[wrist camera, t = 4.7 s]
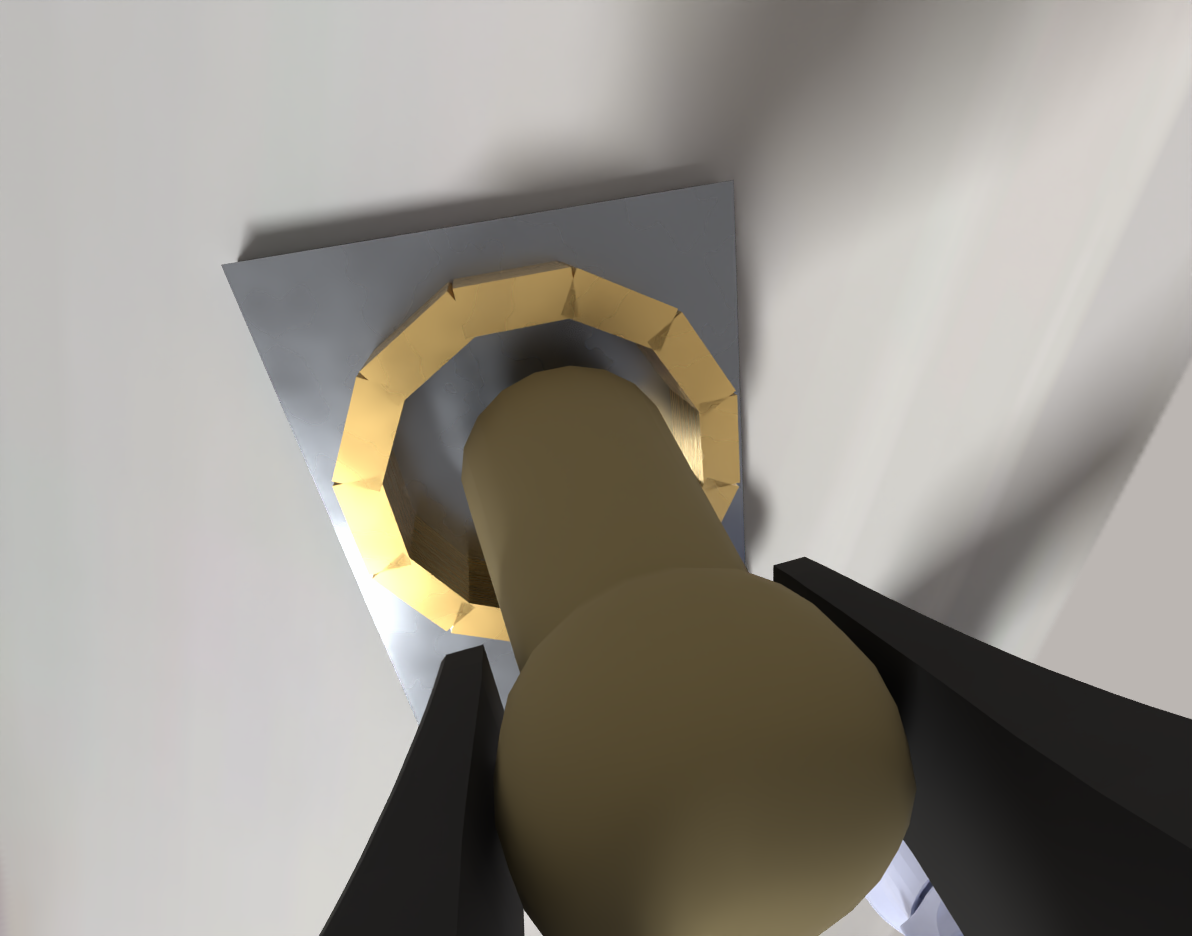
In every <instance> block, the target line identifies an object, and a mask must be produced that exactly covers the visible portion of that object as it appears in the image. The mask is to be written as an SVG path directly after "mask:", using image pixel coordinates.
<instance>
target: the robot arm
mask: <svg viewBox="0 0 1192 936" xmlns="http://www.w3.org/2000/svg"><path fill="white" fill-rule="evenodd" d="M773 581H774V582H776V583H779V584H782V585H783V586H785V587H786V588H788V589H790V590H791V591H793V592H795V593H796V594H798V595H800V596H801V597H803V598H805V599H806V600H808V601H809V602H811V603H813V604H814V605H815V606H816V607H817V608H818V609H819V610H820V611H821V612H822V613H824V614H825V615H826V616H827V617H828V618H829V619H830V620H831V621H832V622H833V623H834V624H835V625H836V626H837V627H838V628H839V629H841V630H842V631H843V632H844V633H845V634H846V635H847V636H848V638H849V639H850V640H851V641H852V642H853V643H854V644H855V645H856V646H857V647H858V648H859V649H860V650H861V651H862V652H863V653H864V654H865V655H866V656H867V658H868V659H869V660H870V661H871V662H872V663H873V664H874V665H875V667H876V668H877V670H878V672H879V674H880V676H881V678H882V679H883V681H884V683H885V685H886V687H887V689H888V690H889V692H890V694H891V696H892V698H893V700H894V702H895V703H896V705H897V707H898V711H899V714H900V717H901V721H902V724H903V727H904V730H905V734H906V737H907V740H908V744H909V750H910V755H911V761H912V766H913V771H914V777H915V782H916V788H917V789H916V794H915V799H914V804H913V809H912V814H911V819H910V824H909V827H908V829H907V831H906V834H905V836H904V838H903V841H902V843H901V845H900V848H899V850H898V851H897V853H896V855H895V856H894V858H893V860H892V862H891V863H890V865H889V867H888V868H887V870H886V872H885V873H884V875H883V877H882V878H881V880H880V881H879V883H878V884H877V885H876V886H875V887H874V888H873V889H872V890H871V891H870V892H869V893H868V894H867V895H866V896H865V897H866V899H867V900H868V902H869V903H870V904H871V906H872V907H873V908H874V909H875V911H876V912H877V913H878V914H879V915H880V916H881V917H882V918H883V919H884V920H885V921H886V922H887V923H888V924H890V925H891V926H892V927H893V928H895V929H896V930H897V931H899V932H900V933H902V934H903V935H904V936H1192V719H1189V718H1185V717H1182V716H1179V715H1176V714H1173V713H1170V712H1167V711H1163V710H1160V709H1157V708H1154V707H1151V706H1148V705H1145V704H1142V703H1139V702H1136V701H1133V700H1130V699H1127V698H1125V697H1122V696H1119V695H1116V694H1113V693H1110V692H1108V691H1105V690H1102V689H1099V688H1097V687H1094V686H1091V685H1089V684H1086V683H1083V682H1081V681H1078V680H1075V679H1073V678H1070V677H1067V676H1065V675H1062V674H1059V673H1056V672H1054V671H1051V670H1048V669H1046V668H1043V667H1040V666H1038V665H1036V664H1033V663H1031V662H1028V661H1026V660H1023V659H1021V658H1019V657H1016V656H1014V655H1012V654H1009V653H1007V652H1005V651H1002V650H1000V649H998V648H995V647H993V646H991V645H988V644H986V643H984V642H981V641H979V640H977V639H974V638H972V637H970V636H968V635H965V634H963V633H961V632H959V631H957V630H954V629H952V628H950V627H948V626H946V625H943V624H941V623H939V622H937V621H935V620H933V619H931V618H929V617H926V616H924V615H922V614H920V613H918V612H916V611H914V610H912V609H910V608H908V607H906V606H904V605H902V604H900V603H898V602H896V601H894V600H891V599H889V598H887V597H885V596H883V595H881V594H879V593H877V592H875V591H873V590H871V589H869V588H867V587H865V586H863V585H861V584H859V583H858V582H856V581H854V580H852V579H850V578H848V577H846V576H844V575H842V574H840V573H838V572H836V571H834V570H832V569H830V568H828V567H825V566H823V565H821V564H819V563H817V562H815V561H813V560H811V559H808V558H806V557H802V558H799V559H795V560H791V561H788V562H784V563H780V564H777V565H774V567H773ZM503 715H504V708H503V705H502V702H501V699H500V696H499V692H498V689H497V686H496V683H495V680H494V676H493V673H492V670H491V667H490V664H489V660H488V657H487V654H486V651H485V648H484V645H480V646H476V647H472V648H469V649H465V650H461V651H457V652H454V653H450V654H446V656H445V657H444V659H443V660H442V661H441V664H440V667H439V671H438V674H437V677H436V680H435V683H434V686H433V689H432V692H431V695H430V697H429V700H428V703H427V706H426V709H425V711H424V714H423V716H422V719H421V722H420V724H419V727H418V730H417V732H416V735H415V737H414V740H413V742H412V744H411V747H410V749H409V752H408V754H407V756H406V759H405V761H404V764H403V766H402V768H401V771H400V773H399V776H398V778H397V780H396V783H395V785H394V787H393V789H392V792H391V794H390V796H389V798H388V800H387V803H386V805H385V807H384V809H383V811H382V813H381V815H380V817H379V819H378V822H377V824H376V826H375V828H374V830H373V832H372V834H371V836H370V838H369V841H368V843H367V845H366V847H365V849H364V851H363V853H362V855H361V857H360V859H359V861H358V863H357V865H356V867H355V869H354V871H353V873H352V875H351V877H350V879H349V881H348V883H347V885H346V887H345V889H344V891H343V893H342V894H341V896H340V898H339V900H338V902H337V904H336V906H335V908H334V910H333V911H332V913H331V915H330V917H329V919H328V920H327V922H326V924H325V926H324V928H323V930H322V931H321V933H320V935H319V936H524V912H523V906H522V903H521V901H520V898H519V895H518V893H517V890H516V887H515V885H514V882H513V880H512V877H511V874H510V872H509V868H508V865H507V862H506V859H505V856H504V852H503V849H502V846H501V843H500V840H499V836H498V833H497V830H496V827H495V810H494V782H493V778H494V771H495V763H496V756H497V748H498V741H499V734H500V729H501V724H502V720H503Z"/></svg>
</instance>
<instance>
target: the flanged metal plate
mask: <svg viewBox="0 0 1192 936" xmlns="http://www.w3.org/2000/svg"><path fill="white" fill-rule="evenodd" d="M221 266H222V268H223V270H224V273H225V275H226V277H227V280H228V282H229V284H230V287H231V289H232V291H233V294H234V296H235V298H236V301H237V303H238V305H239V308H240V310H241V312H242V315H243V317H244V319H245V322H246V324H247V326H248V329H249V331H250V333H251V336H252V338H253V340H254V343H255V345H256V347H257V350H258V352H259V354H260V357H261V359H262V361H263V364H264V366H265V368H266V371H267V373H268V375H269V378H270V380H271V382H272V385H273V387H274V389H275V392H276V394H277V396H278V399H279V401H280V403H281V406H282V408H283V410H284V413H285V415H286V417H287V420H288V422H289V424H290V427H291V429H292V431H293V433H294V436H295V438H296V440H297V443H298V445H299V447H300V450H301V452H302V454H303V457H304V459H305V461H306V464H307V466H308V468H309V471H310V473H311V475H312V478H313V480H314V482H315V485H316V487H317V489H318V492H319V494H320V496H321V499H322V501H323V503H324V506H325V508H326V510H327V513H328V515H329V517H330V520H331V522H332V524H333V527H334V529H335V531H336V534H337V536H338V538H339V541H340V543H341V545H342V548H343V550H344V552H345V555H346V557H347V559H348V562H349V564H350V566H351V569H352V571H353V573H354V576H355V578H356V580H357V583H358V585H359V587H360V590H361V592H362V594H363V597H364V599H365V601H366V604H367V606H368V608H369V611H370V613H371V615H372V618H373V620H374V622H375V625H376V627H377V629H378V632H379V634H380V636H381V639H382V641H383V643H384V646H385V648H386V650H387V653H388V655H389V657H390V660H391V662H392V664H393V667H394V669H395V671H396V674H397V676H398V678H399V681H400V683H401V685H402V688H403V690H404V692H405V695H406V697H407V699H408V702H409V704H410V706H411V709H412V711H413V713H414V716H415V718H416V720H417V723H418V725H419V724H420V722H421V719H422V716H423V714H424V711H425V709H426V706H427V703H428V700H429V697H430V695H431V692H432V689H433V686H434V683H435V680H436V677H437V674H438V671H439V667H440V664H441V661H442V660H443V659H444V657H445V656H446V654H450V653H454V652H457V651H461V650H465V649H469V648H472V647H476V646H480V645H484V648H485V651H486V654H487V657H488V660H489V664H490V667H491V670H492V673H493V676H494V680H495V683H496V686H497V689H498V692H499V696H500V699H501V702H502V705H503V708H504V711H505V706H506V702H507V697H508V694H509V692H510V691H511V689H512V687H513V685H514V683H515V682H516V680H517V678H518V676H519V675H520V672H519V669H518V665H517V662H516V659H515V655H514V652H513V649H512V646H511V642H510V639H509V636H508V633H507V629H506V626H505V623H504V620H503V616H502V613H501V610H500V607H499V603H498V600H497V597H496V594H495V590H494V587H493V584H492V581H491V577H490V574H489V571H488V568H487V564H486V561H485V558H484V554H483V551H482V548H481V545H480V541H479V538H478V535H477V532H476V528H475V525H474V522H473V519H472V515H471V512H470V509H469V505H468V502H467V498H466V495H465V491H464V488H463V484H462V481H461V476H462V463H463V450H464V446H465V444H466V442H467V439H468V437H469V435H470V433H471V430H472V428H473V426H474V424H475V422H476V419H477V417H478V416H479V415H480V414H481V413H482V412H483V410H484V409H485V408H486V407H487V406H488V405H489V404H490V403H491V402H492V401H493V400H494V399H495V398H496V397H497V395H498V394H499V393H500V392H501V391H502V390H504V389H506V388H507V387H509V386H511V385H513V384H515V383H517V382H518V381H520V380H522V379H524V378H526V377H527V376H529V375H531V374H533V373H535V372H540V371H545V370H550V369H555V368H560V367H565V366H579V367H587V368H596V369H604V370H607V371H609V372H611V373H613V374H615V375H617V376H619V377H621V378H624V379H626V380H628V381H630V382H632V383H634V384H635V385H636V386H637V387H638V388H639V389H640V390H641V391H642V392H643V393H644V394H645V395H646V396H647V397H648V398H649V399H650V400H651V401H652V402H653V403H654V404H655V405H656V406H657V407H658V409H659V411H660V413H661V415H662V416H663V418H664V420H665V422H666V424H667V425H668V427H669V429H670V431H671V433H672V434H673V436H674V438H675V440H676V442H677V444H678V445H679V447H680V449H681V451H682V453H683V454H684V456H685V458H686V460H687V462H688V463H689V465H690V467H691V469H692V471H693V472H694V474H695V476H696V478H697V480H698V482H699V483H700V485H701V487H702V489H703V491H704V492H705V494H706V496H707V498H708V500H709V501H710V503H711V505H712V507H713V509H714V511H715V512H716V514H717V516H718V518H719V520H720V521H721V523H722V525H723V527H724V529H725V530H726V532H727V534H728V536H729V538H730V540H731V541H732V543H733V545H734V547H735V549H736V550H737V552H738V554H739V556H740V558H741V559H742V561H743V563H744V565H745V543H744V510H743V477H742V444H741V411H740V378H739V345H738V312H737V279H736V246H735V213H734V180H732V181H725V182H719V183H713V184H707V185H701V186H695V187H689V188H683V189H677V190H670V191H664V192H658V193H652V194H646V195H640V196H634V197H628V198H622V199H616V200H610V201H604V202H598V203H592V204H586V205H580V206H574V207H568V208H561V209H555V210H549V211H543V212H537V213H531V214H525V215H519V216H513V217H507V218H501V219H495V220H489V221H483V222H477V223H471V224H465V225H459V226H452V227H446V228H440V229H434V230H428V231H422V232H416V233H410V234H404V235H398V236H392V237H386V238H380V239H374V240H368V241H362V242H356V243H350V244H343V245H337V246H331V247H325V248H319V249H313V250H307V251H301V252H295V253H289V254H283V255H277V256H271V257H265V258H259V259H253V260H247V261H240V262H235V263H229V264H223V265H221Z"/></svg>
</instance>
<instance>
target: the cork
mask: <svg viewBox="0 0 1192 936" xmlns="http://www.w3.org/2000/svg"><path fill="white" fill-rule="evenodd" d="M461 481H462V484H463V488H464V491H465V495H466V498H467V502H468V505H469V509H470V512H471V515H472V519H473V522H474V525H475V528H476V532H477V535H478V538H479V541H480V545H481V548H482V551H483V554H484V558H485V561H486V564H487V568H488V571H489V574H490V577H491V581H492V584H493V587H494V590H495V594H496V597H497V600H498V603H499V607H500V610H501V613H502V616H503V620H504V623H505V626H506V629H507V633H508V636H509V639H510V642H511V646H512V649H513V652H514V655H515V659H516V662H517V665H518V669H519V672H520V675H519V676H518V678H517V680H516V682H515V683H514V685H513V687H512V689H511V691H510V692H509V694H508V697H507V702H506V706H505V711H504V715H503V720H502V724H501V729H500V734H499V741H498V748H497V756H496V763H495V771H494V778H493V782H494V810H495V827H496V830H497V833H498V836H499V840H500V843H501V846H502V849H503V852H504V856H505V859H506V862H507V865H508V868H509V872H510V874H511V877H512V880H513V882H514V885H515V887H516V890H517V893H518V895H519V898H520V901H521V903H522V906H523V908H524V911H525V912H526V913H527V915H528V916H529V917H530V919H531V920H532V921H533V923H534V924H535V925H536V927H537V928H538V930H539V931H540V932H541V934H542V935H543V936H819V935H820V934H821V933H823V932H824V931H825V930H827V929H828V928H829V927H831V926H832V925H833V924H835V923H836V922H837V921H839V920H840V919H841V918H843V917H844V916H845V915H847V914H848V913H850V912H851V911H852V910H853V909H854V908H855V907H856V906H857V905H858V904H859V902H860V901H861V900H862V899H863V898H864V897H865V896H866V895H867V894H868V893H869V892H870V891H871V890H872V889H873V888H874V887H875V886H876V885H877V884H878V883H879V881H880V880H881V878H882V877H883V875H884V873H885V872H886V870H887V868H888V867H889V865H890V863H891V862H892V860H893V858H894V856H895V855H896V853H897V851H898V850H899V848H900V845H901V843H902V841H903V838H904V836H905V834H906V831H907V829H908V827H909V824H910V819H911V814H912V809H913V804H914V799H915V794H916V789H917V788H916V782H915V777H914V771H913V766H912V761H911V755H910V750H909V744H908V740H907V737H906V734H905V730H904V727H903V724H902V721H901V717H900V714H899V711H898V707H897V705H896V703H895V702H894V700H893V698H892V696H891V694H890V692H889V690H888V689H887V687H886V685H885V683H884V681H883V679H882V678H881V676H880V674H879V672H878V670H877V668H876V667H875V665H874V664H873V663H872V662H871V661H870V660H869V659H868V658H867V656H866V655H865V654H864V653H863V652H862V651H861V650H860V649H859V648H858V647H857V646H856V645H855V644H854V643H853V642H852V641H851V640H850V639H849V638H848V636H847V635H846V634H845V633H844V632H843V631H842V630H841V629H839V628H838V627H837V626H836V625H835V624H834V623H833V622H832V621H831V620H830V619H829V618H828V617H827V616H826V615H825V614H824V613H822V612H821V611H820V610H819V609H818V608H817V607H816V606H815V605H814V604H813V603H811V602H809V601H808V600H806V599H805V598H803V597H801V596H800V595H798V594H796V593H795V592H793V591H791V590H790V589H788V588H786V587H785V586H783V585H782V584H779V583H776V582H774V581H771V580H768V579H765V578H762V577H760V576H757V575H754V574H751V573H749V572H748V570H747V568H746V567H745V565H744V563H743V561H742V559H741V558H740V556H739V554H738V552H737V550H736V549H735V547H734V545H733V543H732V541H731V540H730V538H729V536H728V534H727V532H726V530H725V529H724V527H723V525H722V523H721V521H720V520H719V518H718V516H717V514H716V512H715V511H714V509H713V507H712V505H711V503H710V501H709V500H708V498H707V496H706V494H705V492H704V491H703V489H702V487H701V485H700V483H699V482H698V480H697V478H696V476H695V474H694V472H693V471H692V469H691V467H690V465H689V463H688V462H687V460H686V458H685V456H684V454H683V453H682V451H681V449H680V447H679V445H678V444H677V442H676V440H675V438H674V436H673V434H672V433H671V431H670V429H669V427H668V425H667V424H666V422H665V420H664V418H663V416H662V415H661V413H660V411H659V409H658V407H657V406H656V405H655V404H654V403H653V402H652V401H651V400H650V399H649V398H648V397H647V396H646V395H645V394H644V393H643V392H642V391H641V390H640V389H639V388H638V387H637V386H636V385H635V384H634V383H632V382H630V381H628V380H626V379H624V378H621V377H619V376H617V375H615V374H613V373H611V372H609V371H607V370H604V369H596V368H587V367H579V366H565V367H560V368H555V369H550V370H545V371H540V372H535V373H533V374H531V375H529V376H527V377H526V378H524V379H522V380H520V381H518V382H517V383H515V384H513V385H511V386H509V387H507V388H506V389H504V390H502V391H501V392H500V393H499V394H498V395H497V397H496V398H495V399H494V400H493V401H492V402H491V403H490V404H489V405H488V406H487V407H486V408H485V409H484V410H483V412H482V413H481V414H480V415H479V416H478V417H477V419H476V422H475V424H474V426H473V428H472V430H471V433H470V435H469V437H468V439H467V442H466V444H465V446H464V450H463V463H462V476H461Z"/></svg>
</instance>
